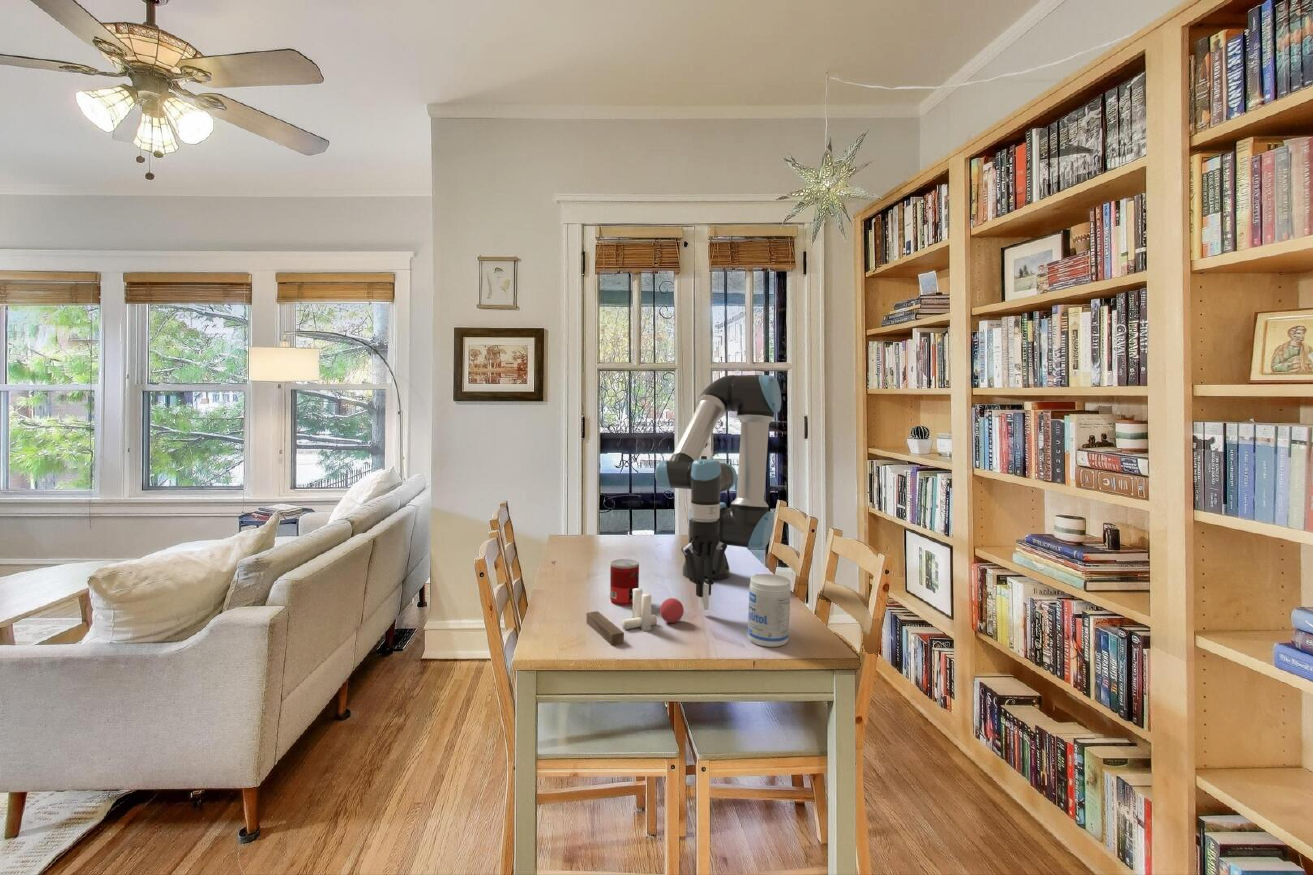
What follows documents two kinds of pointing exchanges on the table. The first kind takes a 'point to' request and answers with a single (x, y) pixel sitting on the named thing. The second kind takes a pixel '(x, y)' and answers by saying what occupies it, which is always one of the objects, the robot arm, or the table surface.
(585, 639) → the table surface
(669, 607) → the ball
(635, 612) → the pin
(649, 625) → the pin
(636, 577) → the canned food
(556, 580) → the table surface
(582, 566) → the table surface
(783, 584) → the supplement tub
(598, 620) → the brown wooden bar
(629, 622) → the front pin
